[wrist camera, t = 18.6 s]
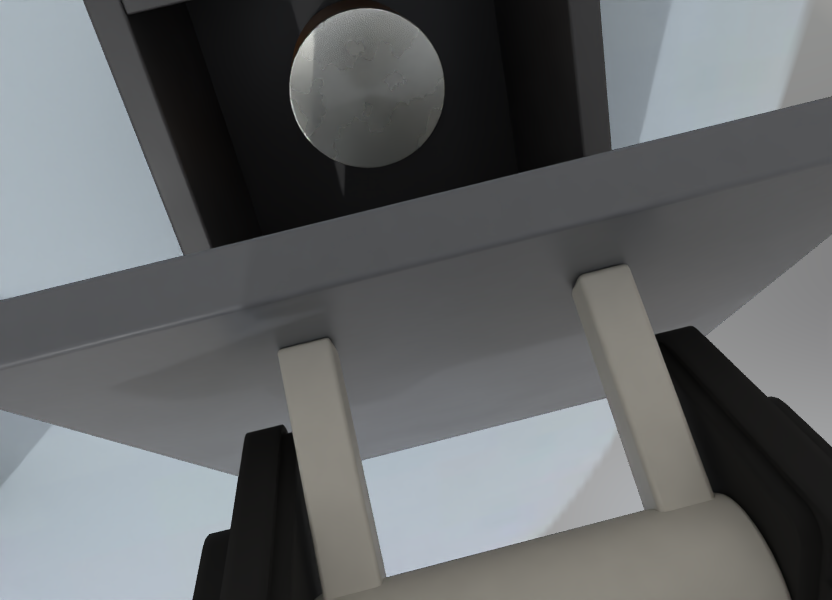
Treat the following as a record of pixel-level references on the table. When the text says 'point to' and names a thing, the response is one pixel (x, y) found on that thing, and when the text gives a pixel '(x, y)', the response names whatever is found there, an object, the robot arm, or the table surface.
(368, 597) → the brewer lid
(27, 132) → the table surface
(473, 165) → the dark grey storage bin
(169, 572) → the table surface
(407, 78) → the cylinder
